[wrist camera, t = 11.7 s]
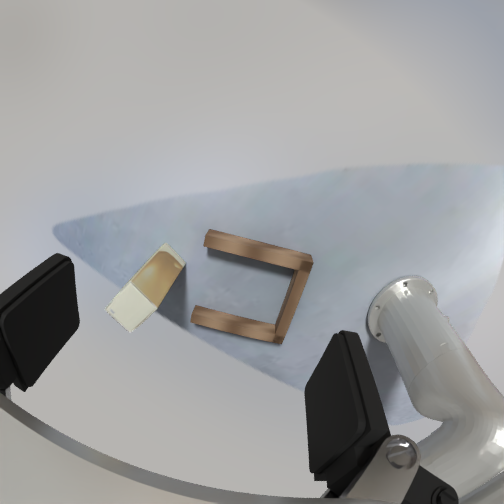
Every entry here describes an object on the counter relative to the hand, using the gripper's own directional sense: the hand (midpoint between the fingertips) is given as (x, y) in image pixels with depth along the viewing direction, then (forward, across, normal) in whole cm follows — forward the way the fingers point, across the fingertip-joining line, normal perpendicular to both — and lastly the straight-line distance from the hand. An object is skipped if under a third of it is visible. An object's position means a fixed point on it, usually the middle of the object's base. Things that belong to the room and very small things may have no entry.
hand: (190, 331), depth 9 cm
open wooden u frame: (+28, -3, +14) cm, 32 cm away
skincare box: (+28, +10, +14) cm, 33 cm away
